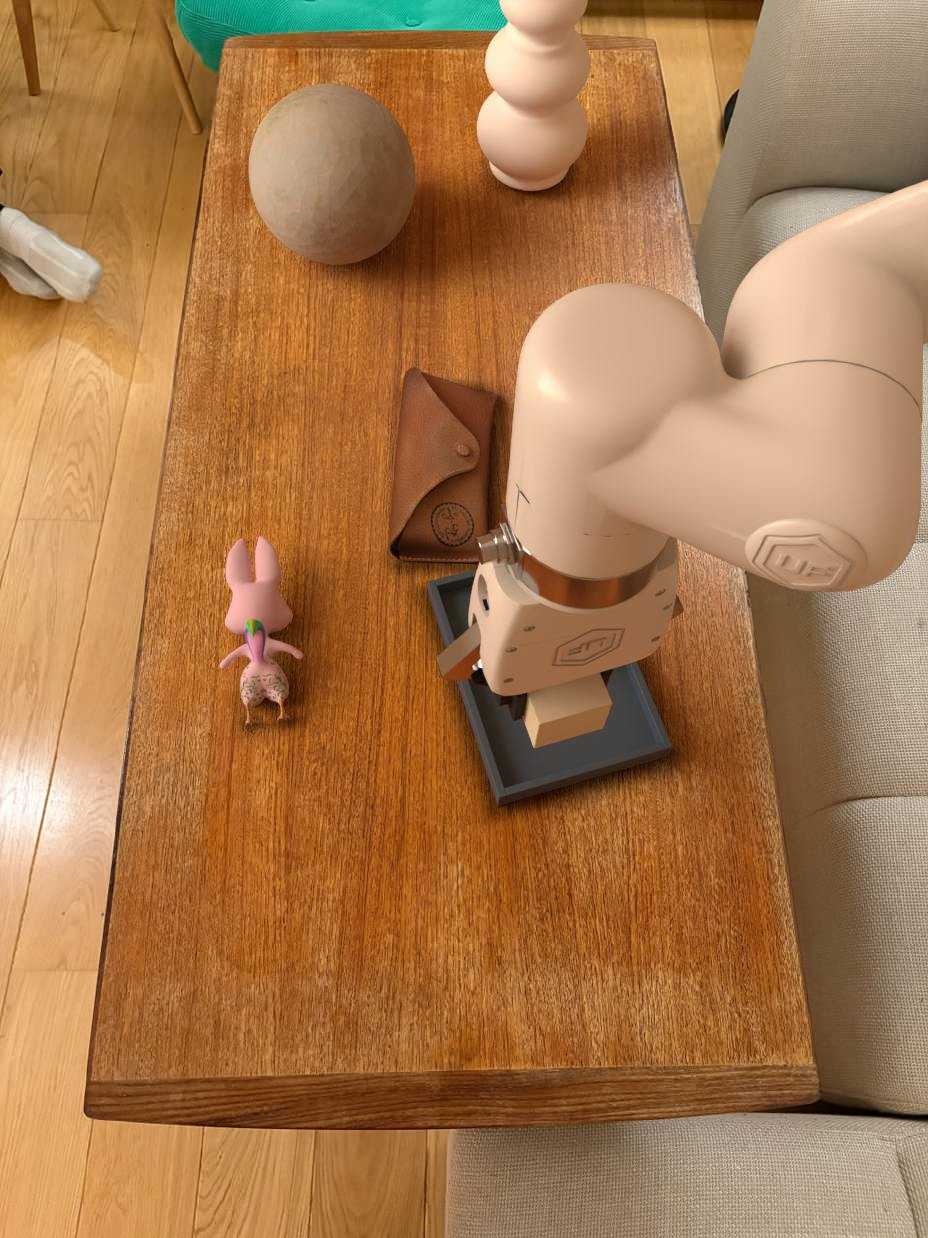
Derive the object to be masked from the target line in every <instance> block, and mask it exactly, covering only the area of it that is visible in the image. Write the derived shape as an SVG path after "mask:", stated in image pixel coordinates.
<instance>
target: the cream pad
mask: <svg viewBox="0 0 928 1238" xmlns="http://www.w3.org/2000/svg"><path fill="white" fill-rule="evenodd" d="M611 705H612V701H611V699H610V696H609V694H608V691H607V689H606V686H605V684H604V681H603V679H602V676H601V674H600V673H596V674H593V675H589V676H586V677H582V678H579V679H575V680H572V681H568V682H565V683H561V684H557V685H554V686H550V687H547V688H543V689H539V690H535V691H532V692H528V693H527V700H526V706H525V712H524V716H522V717H523V720H524V723H525V725H526V728H527V731H528V734H529V736H530V739H531V742H532V745H533V747H534V748H538V747H541V746H545V745H548V744H551V743H555V742H558V741H562V740H565V739H568V738H572V737H575V736H579V735H582V734H585V733H589V732H592V731H596V730H599V729H602V728H603V727H604V724H605V722H606V719H607V716H608V714H609V711H610V708H611Z"/></svg>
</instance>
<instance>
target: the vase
mask: <svg viewBox="0 0 928 1238" xmlns="http://www.w3.org/2000/svg"><path fill="white" fill-rule="evenodd" d="M498 1H499V2H498V3H499V6H500V10H501V12H502V14H503V16H504V17H505V18H506V20H507V23H506V25H504V26H503V27H502V28H501V29H499V31H498V32H497V33H495V35H494V36H493V37H492V39H491V41H490V43H489V44H488V47H487V50H486V54H485V57H484V69H485V74H486V78H487V80H488V82H489V84H490V87H491V88H492V89H493V91H492V92H491V94H489V96H487V98H486V99H485V101H484V102H483V103H482V105H481V107H480V110H479V113H478V116H477V121H476V137H477V141H478V144H479V147H480V149H481V151H482V153H483V155H484V156H485V158H486V159H487V160H488V162H489V168H490V170H491V172H492V174H493V176H494V177H495V178H496V179H497V180H498V181H499V182H500V183H502V184H503V185H506V186H507V187H510V188H511V189H515V190H519V191H525V192H534V191H535V192H536V191H537V192H538V191H542V190H547V189H550V188H552V187H554V186H556V185H557V184H560V182H561V181H562V180H564V178H565V177H566V175H567V174H568V172H569V170H570V169H569V168H570V167H571V166H572V165H573V164H574V163H575V162H576V161H577V160H578V158H579V157H580V156H581V154H582V152H583V150H584V148H585V145H586V142H587V140H588V139H587V138H588V131H589V127H588V126H589V124H588V118H587V114H586V111H585V109H584V107H583V105H582V103H581V102H580V100H579V98H577V96H578V95H579V94H580V93H581V91H582V90H583V89H584V88H585V86H586V84H587V82H588V80H589V76H590V74H591V73H590V72H591V55H590V51H589V48H588V46H587V44H586V42H585V40H584V38H583V37H582V35H580V33H579V32H578V31H577V30H576V28H575V25H576V24H577V23H578V22H579V21H580V20H581V19H582V18H583V16H584V14H585V12H586V10H587V6H588V2H589V1H588V0H498Z"/></svg>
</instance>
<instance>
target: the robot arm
mask: <svg viewBox="0 0 928 1238" xmlns="http://www.w3.org/2000/svg"><path fill="white" fill-rule="evenodd" d="M925 344H928V179H926V180H923V181H921V182H917V183H915V184H912V185H909V186H906V187H904V188H901V189H898V190H896V191H893V192H891V193H889V194H886V195H883V196H881V197H878V198H875V199H873V200H871V201H868V202H865V203H863V204H860V205H858V206H857V205H856V206H854V207H852V208H850V209H848V210H845V211H843V212H840V213H837V214H835V215H832V216H829V217H828V218H826V219H823V220H821V221H819V222H816V223H815V224H813V225H811V226H809V227H807V228H805V229H803V230H802V231H800V232H797V234H794V235H793V236H791V237H790V238H788V239H786V240H784V241H783V242H781V243H779V244H778V245H777V246H775V247H774V248H773V249H771V250H770V251H769V252H768V253H767V254H766V255H764V256H763V257H762V258H761V259H759V260H758V261H757V262H756V263H755V264H754V265H753V266H752V267H751V269H750V270H749V272H748V273H747V274H746V275H745V277H744V278H743V279H742V281H741V282H740V284H739V285H738V287H737V288H736V291H735V292H734V295H733V297H732V300H731V301H730V305H729V308H728V311H727V317H726V322H725V326H724V331H723V339H722V345H721V351H720V349H719V347H718V343H717V341H716V338H715V336H714V335H713V333H712V332H711V330H710V327H709V326H708V325H707V323H706V322H705V321H704V320H703V319H702V317H700V315H699V314H698V313H697V312H696V311H695V310H693V309H692V308H691V307H690V305H688V304H687V303H685V302H684V301H682V300H681V299H679V298H677V297H675V296H674V295H671V294H670V293H668V292H665V291H662V290H660V289H658V288H655V287H651V286H647V285H643V284H638V283H632V282H631V283H630V282H603V283H596V284H591V285H588V286H584V287H581V288H577V289H575V290H573V291H570V292H569V293H567V294H565V295H564V296H562V297H560V298H558V299H557V300H555V301H554V302H552V303H551V304H550V305H549V306H547V308H545V309H544V310H543V311H542V312H541V314H539V316H538V317H537V318H536V320H535V321H534V322H533V324H532V325H531V326H530V329H529V331H528V333H527V334H526V336H525V338H524V340H523V343H522V346H521V349H520V353H519V358H518V365H517V370H516V382H515V393H514V404H513V405H514V406H513V415H512V427H511V439H510V451H509V466H508V475H507V485H506V496H505V503H504V504H500V513H499V515H500V516H499V523H497V524H495V526H494V527H495V528H491V529H488V532H489V533H488V534H484V535H480V536H476V537H474V543H475V549H476V553H477V556H478V559H479V561H480V562H478V566H477V568H476V569H477V571H476V575H475V579H474V583H473V587H472V592H471V598H470V606H469V615H468V623H469V629H468V630H466V631H465V632H464V633H463V634H462V635H461V636H460V637H459V638H458V639H456V640H455V641H454V642H453V643H452V644H451V645H450V646H449V647H448V648H446V647H445V648H444V650H443V651H442V652H441V653H440V654H438V655H437V657H436V658H435V661H436V665H437V668H438V671H439V674H440V677H441V679H442V680H443V681H454V682H457V681H466V680H467V679H472V681H473V683H474V684H477V685H484V686H489V687H490V689H491V690H492V691H493V693H494V696H495V698H496V701H497V704H498V706H499V707H500V706H503V705H508V708H509V711H510V714H511V717H512V719H513V721H516V720H520V719H522V716H524V712H525V706H526V700H527V693H528V692H532V691H535V690H539V689H543V688H547V687H550V686H554V685H557V684H561V683H565V682H568V681H572V680H575V679H579V678H582V677H586V676H589V675H593V674H596V673H600V674H601V676H602V679H603V681H604V684H605V686H606V687H607V684H608V681H609V678H610V675H611V674H612V672H613V669H614V668H616V667H620V666H623V665H626V664H629V663H632V662H635V661H637V662H638V661H641V660H643V659H645V658H648V657H649V656H651V655H653V654H654V653H655V652H656V651H658V649H659V648H660V647H661V644H662V643H663V641H664V639H665V637H666V635H667V633H668V629H669V627H670V625H671V620H673V619H675V618H676V617H679V616H680V615H681V614H683V613H684V612H685V608H684V606H683V604H682V602H681V600H680V597H679V595H678V583H679V545H678V541H681V542H682V543H684V544H687V545H689V546H691V547H693V548H695V549H697V550H700V551H702V552H704V553H706V554H708V555H710V556H712V557H714V558H717V559H719V560H721V561H723V562H724V563H728V564H730V565H732V566H735V567H737V568H739V569H741V570H743V571H745V572H748V573H750V574H754V575H756V576H758V577H760V578H764V579H766V580H768V581H771V582H773V583H775V584H776V585H779V586H782V587H785V588H788V589H791V590H796V591H800V592H809V593H811V592H812V593H821V592H822V593H841V592H851V591H857V590H861V589H865V588H869V587H870V586H873V585H876V584H878V583H880V582H882V581H883V580H885V579H887V578H888V577H890V576H891V575H892V574H893V573H895V572H896V571H897V570H898V569H899V568H900V567H901V566H902V564H903V563H904V562H905V560H906V559H907V557H908V556H909V554H910V553H911V551H912V548H913V546H914V544H915V541H916V538H917V535H918V531H919V524H920V517H921V510H922V443H923V441H922V440H923V439H922V435H923V432H922V431H923V427H922V426H923V417H924V416H923V413H924V412H923V410H924V409H923V408H924V403H923V402H924V398H923V397H924V345H925Z"/></svg>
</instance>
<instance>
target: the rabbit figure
mask: <svg viewBox="0 0 928 1238" xmlns="http://www.w3.org/2000/svg"><path fill="white" fill-rule="evenodd" d="M225 564H226V565H225V579H226V584H227V585H228V587H229V588H230V590H231V592H232V598H231V602H230V605H229V609H228V610H227V614H226V616H225V619H224V625H225V627H226V628H227V629H228V630H229V631H230V632H232V633H233V634H235V635H237V636H244V637H245V642H246V643H245V644H242V645H240V646H239V647H237V648H236V649H234V650H233V651H231V652H230V653H228V655H226V657H225V658H223V660H222V661H221V662H220V664H219V668H220V669H221V670H226V669H227V668H228V667H229V666H230V664H231V663H232V662H233V661H234V660H236V659H239V658H241V657H247V658H248V659H249V660H250V662H249V663H248V664H247V665H246V666H245V668H244V669H243V671H242V674H241V676H240V682H239V691H240V698H241V701H242V703H243V705H244V706H245V709H246V716H247V717H246V720H245V726H247V725H248V724H250V725H251V726H252V725H253V724H255V723H257V724H259V720H256V719H254V718H253V717H252V715H251V709H252V707H254V706H258V705H259V704H261V703H262V702H263V700H265V699H269V701H271V702H273V703H277V704H278V705H279V706H280V715H279V716H278V717H277V721H279V720H285V721H287V719H288V720H291V717H290V715H289V714H287V713H286V712H285V709H284V702H285V700H286V699H287V698H288V696H289V693H290V687H289V681H288V678H287V676H286V674H285V672H284V670H283V669H282V667H281V666H280V664H278V663H277V662H276V661H274V660H275V657H276V654H277V653H279V652H285V653H289V654H291V655H292V656H293V657H294V658H295V659H296V660H302V659H303V658H304V653H302V651H300V650H299V649H297V648H296V647H295V646H293V645H291V644H289V643H286V642H284V641H281V640H276V639H273V638H270V637H269V635H270V634H272V633H277V632H280V631H282V630H284V629H285V628H287V626H288V625H289V624H290V623H291V622H292V619H293V611H292V610H291V609H290V607H289V605H287V602H286V601H285V600H284V598H283V597H282V595H281V593H280V590H279V585H280V582H281V577H282V569H281V564H280V560H279V558H278V553H277V552H276V549H275V548H274V545H272V543H271V542H270V541H269V540H268V539H267V538H266V537H265V536H263V535H259V536H258V538H257V543H256V547H255V551H254V566H255V567H254V571H255V581H254V580H253V571H252V563H251V556H250V552H249V549H248V546H247V543H246V539H245V538H243V537H241V538H239V539H238V540H237V541H236V542H235V543H234V544H233V546H232V547H231V549H230V550H229V552H228V555H227V557H226V563H225Z"/></svg>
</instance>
